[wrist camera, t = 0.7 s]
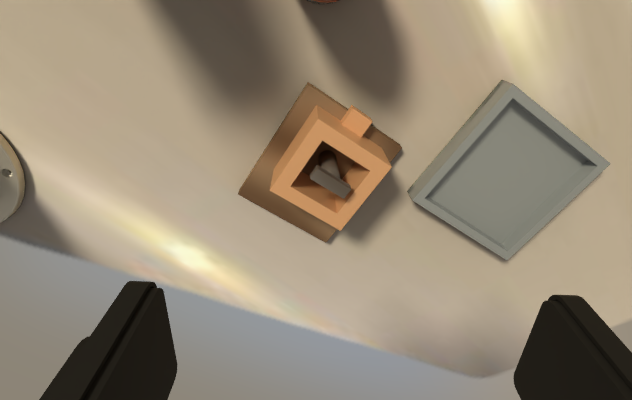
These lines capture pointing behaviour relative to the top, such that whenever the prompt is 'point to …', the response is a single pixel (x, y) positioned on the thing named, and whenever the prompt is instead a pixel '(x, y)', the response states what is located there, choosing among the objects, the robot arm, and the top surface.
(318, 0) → the supplement bottle
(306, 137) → the ring
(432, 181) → the tray
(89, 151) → the top surface
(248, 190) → the brown board with hook
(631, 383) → the robot arm
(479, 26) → the top surface
